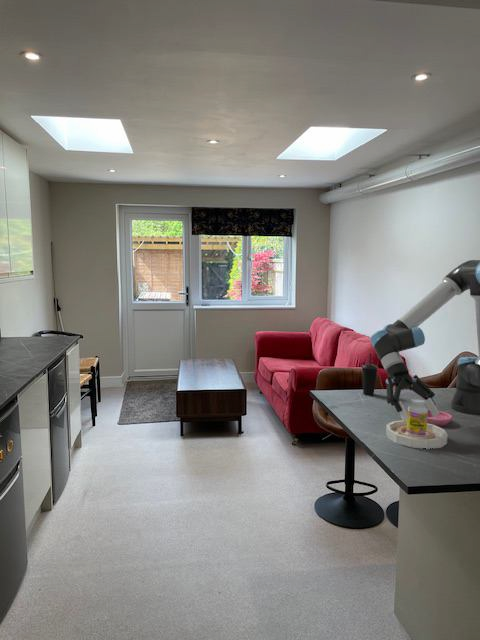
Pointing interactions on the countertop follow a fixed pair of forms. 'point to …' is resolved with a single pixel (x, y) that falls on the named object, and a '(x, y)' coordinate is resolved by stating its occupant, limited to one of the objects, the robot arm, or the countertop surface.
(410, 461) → the countertop surface
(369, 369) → the drinking cup
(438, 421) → the saucer
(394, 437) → the ceramic tray
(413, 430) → the supplement bottle
